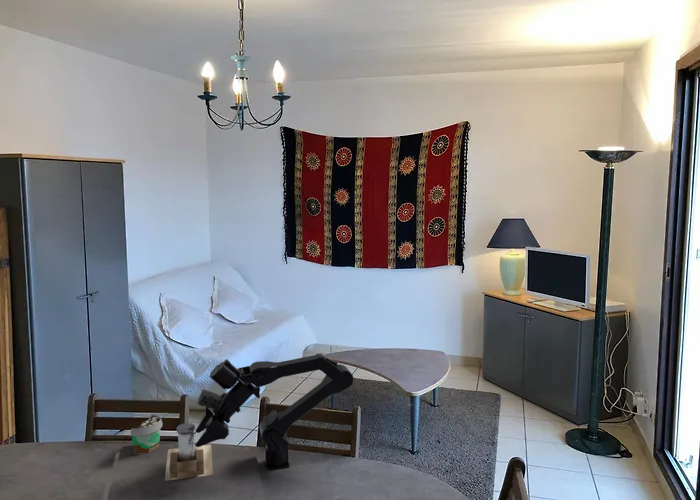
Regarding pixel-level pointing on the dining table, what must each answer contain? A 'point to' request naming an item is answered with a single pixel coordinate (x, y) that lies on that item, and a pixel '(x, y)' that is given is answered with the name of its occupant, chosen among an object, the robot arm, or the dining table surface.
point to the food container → (147, 435)
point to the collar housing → (189, 464)
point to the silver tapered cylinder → (186, 442)
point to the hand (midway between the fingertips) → (196, 438)
